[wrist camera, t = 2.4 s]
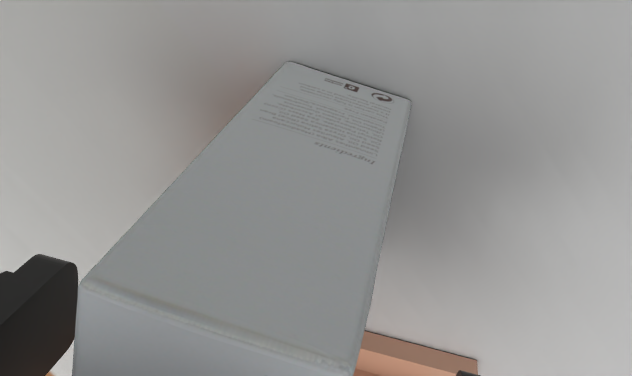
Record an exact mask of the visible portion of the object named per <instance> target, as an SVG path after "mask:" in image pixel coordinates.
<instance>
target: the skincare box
mask: <svg viewBox="0 0 632 376" xmlns="http://www.w3.org/2000/svg"><path fill="white" fill-rule="evenodd" d="M410 110H411V101H410V100H408V99H405V98H402V97H398V96H395V95H392V94H389V93H386V92H383V91H379V90H376V89H373V88H370V87H367V86H364V85H361V84H358V83H354V82H351V81H348V80H345V79H342V78H339V77H336V76H333V75H330V74H327V73H324V72H321V71H318V70H314V69H311V68H308V67H305V66H303V65H300V64H297V63H293V62H286V63H284V64H283V66H282V67H281V68H280V69H279V70H278V71H277V72H276V73H275V74H274V75H273V76H272V77H271V78H270V80H269V81H268V82H267V83H266V84H265V85H264V86H263V87H262V88H261V89H260V90H259V91H258V92H257V93H256V94H255V96H254V97H253V98H252V99H251V100H250V101H249V102H248V103H247V104H246V105H245V106H244V107H243V108H242V109H241V110H240V111H239V113H238V114H237V115H236V116H235V117H234V118H233V119H232V120H231V121H230V122H229V123H228V124H227V125H226V126H225V127H224V128H223V129H222V130H221V131H220V132H219V134H218V135H217V136H216V137H215V138H214V139H213V140H212V141H211V142H210V143H209V144H208V146H207V147H206V148H205V149H204V150H203V151H202V152H201V153H200V154H199V155H198V156H197V157H196V158H195V160H194V161H193V162H192V163H191V164H190V165H189V166H188V167H187V168H186V169H185V170H184V171H183V172H182V173H181V175H180V176H179V177H178V178H177V179H176V180H175V181H174V182H173V183H172V184H171V185H170V186H169V187H168V188H167V189H166V190H165V192H164V193H163V194H162V195H161V196H160V197H159V198H158V199H157V200H156V201H155V202H154V203H153V204H152V205H151V207H150V208H149V209H148V210H147V211H146V212H145V213H144V214H143V215H142V216H141V217H140V218H139V219H138V220H137V222H136V223H135V224H134V225H133V226H132V227H131V228H130V229H129V230H128V231H127V232H126V233H125V234H124V235H123V237H122V238H121V239H120V240H119V241H118V242H117V243H116V244H115V245H114V246H113V247H112V248H111V249H110V250H109V251H108V253H107V254H106V255H105V256H104V257H103V258H102V259H101V260H100V262H98V263H97V264H96V265H95V266H94V267H93V268H92V269H91V271H90V272H89V273H88V274H87V275H86V276H85V277H84V278H83V279H82V281H81V282H80V284H79V286H78V300H77V312H76V326H75V341H74V354H73V370H72V376H353V374H354V371H355V368H356V364H357V360H358V356H359V352H360V347H361V343H362V339H363V335H364V331H365V327H366V321H367V316H368V313H369V309H370V305H371V299H372V294H373V288H374V283H375V277H376V271H377V266H378V262H379V257H380V252H381V247H382V243H383V238H384V234H385V228H386V223H387V219H388V214H389V209H390V204H391V199H392V194H393V189H394V184H395V180H396V175H397V171H398V166H399V161H400V157H401V153H402V148H403V143H404V138H405V134H406V129H407V124H408V119H409V114H410Z"/></svg>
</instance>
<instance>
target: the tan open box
mask: <svg viewBox="0 0 632 376" xmlns="http://www.w3.org/2000/svg"><path fill="white" fill-rule="evenodd" d="M459 370H462V371H465V372H469V373H473V374H476V375H478V370H477V360H473V359H469V358H465V357H462V356H458V355H454V354H450V353H447V352H443V351H439V350H435V349H431V348H428V347H424V346H420V345H416V344H412V343H409V342H405V341H401V340H397V339H393V338H390V337H386V336H382V335H378V334H374V333H371V332H367V331H364V335H363V339H362V343H361V347H360V352H359V356H358V360H357V364H356V368H355V371H354V374H353V376H456V374H457V372H458V371H459Z"/></svg>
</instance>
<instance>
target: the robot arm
mask: <svg viewBox="0 0 632 376" xmlns="http://www.w3.org/2000/svg"><path fill="white" fill-rule="evenodd" d="M77 300H78V271H77V267H76V265H75V264H74V263H71V262H67V261H64V260H60V259H56V258H53V257H49V256H45V255H42V254H38V255H35V256H33V257H32V258H31V259H30V260H28V261H27V262H26V263H25V264H24V265H22V266H21V267H20V268H19V269H18V270H17V271H15V272H14V273H12V272H8V271H5V272H3V273H0V376H45V375H46V374H47V373H48V372H49V371H50V370H51V368H52V367H53V366H54V365H55V364H56V363H57V361H58V360H59V359H60V358H61V357H62V356H63V354H64V353H65V352H66V351H67V350H68V348H69V347H70V345H71V344H72V342H73V340H74V338H75V326H76V312H77ZM456 376H480V375H476V374H473V373H469V372H465V371H462V370H459V371H458V372H457V374H456Z"/></svg>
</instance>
